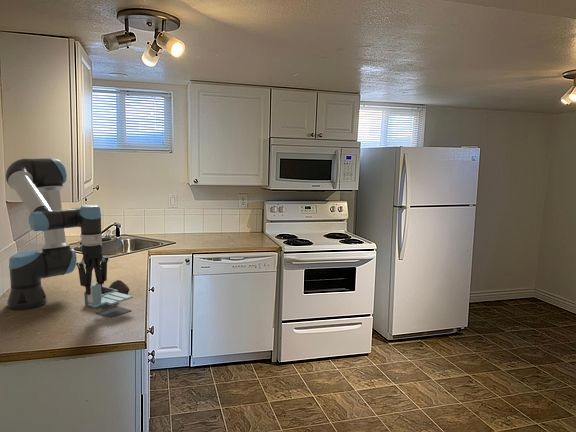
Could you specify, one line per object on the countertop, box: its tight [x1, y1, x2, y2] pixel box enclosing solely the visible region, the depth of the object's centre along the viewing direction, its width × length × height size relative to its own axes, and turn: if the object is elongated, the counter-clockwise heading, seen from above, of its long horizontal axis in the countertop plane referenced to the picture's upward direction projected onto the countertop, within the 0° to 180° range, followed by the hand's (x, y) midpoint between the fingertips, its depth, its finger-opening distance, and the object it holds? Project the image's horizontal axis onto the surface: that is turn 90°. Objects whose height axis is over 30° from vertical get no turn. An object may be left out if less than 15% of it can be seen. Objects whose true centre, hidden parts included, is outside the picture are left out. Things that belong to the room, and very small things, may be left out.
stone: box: [108, 279, 130, 295], centre depth 212 cm, size 10×8×10 cm
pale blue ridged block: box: [88, 282, 134, 308], centre depth 187 cm, size 11×16×9 cm
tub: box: [84, 285, 118, 310], centre depth 200 cm, size 10×10×6 cm
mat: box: [95, 305, 132, 319], centre depth 191 cm, size 10×10×1 cm
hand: (94, 300), depth 182 cm, fingers closed on pale blue ridged block, 3 cm apart
